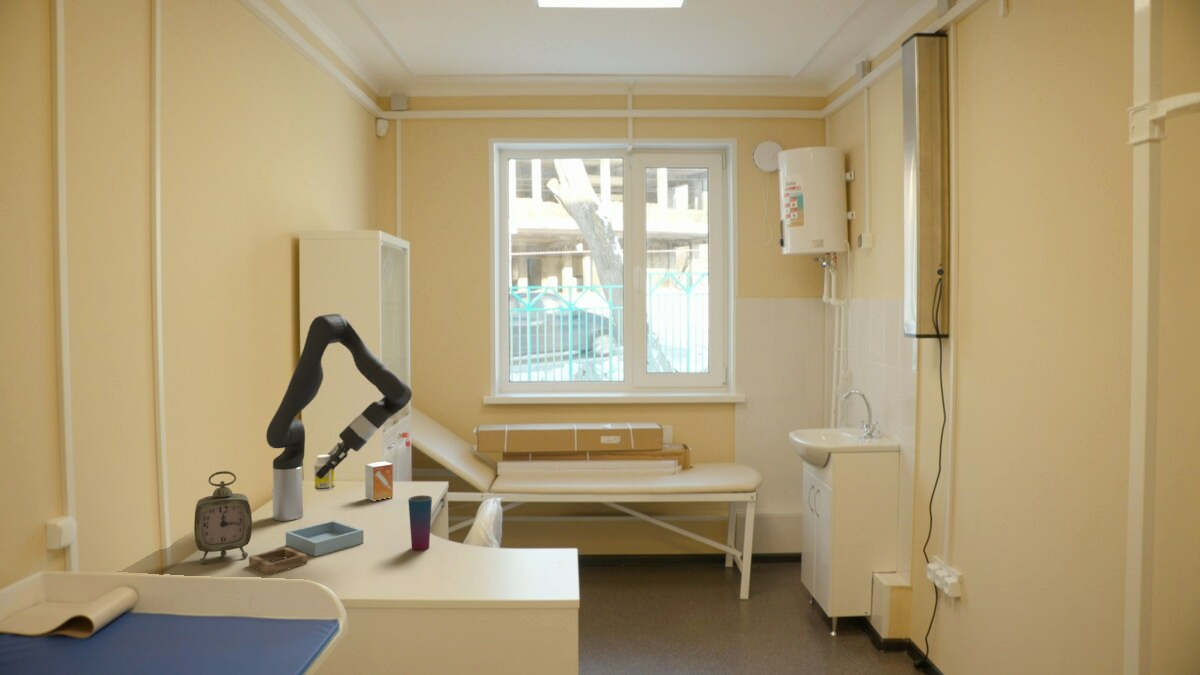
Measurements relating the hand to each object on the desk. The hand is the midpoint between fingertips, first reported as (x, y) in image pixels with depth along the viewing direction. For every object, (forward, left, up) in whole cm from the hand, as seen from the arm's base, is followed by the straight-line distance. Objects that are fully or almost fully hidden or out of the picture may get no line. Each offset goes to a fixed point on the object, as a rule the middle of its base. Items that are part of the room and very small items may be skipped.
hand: (318, 474), depth 229 cm
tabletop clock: (-10, -24, -22) cm, 34 cm away
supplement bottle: (+1, +2, -5) cm, 5 cm away
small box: (-31, +43, -22) cm, 58 cm away
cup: (+26, +17, -22) cm, 38 cm away
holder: (+7, -17, -21) cm, 28 cm away
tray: (+1, +1, -21) cm, 21 cm away
